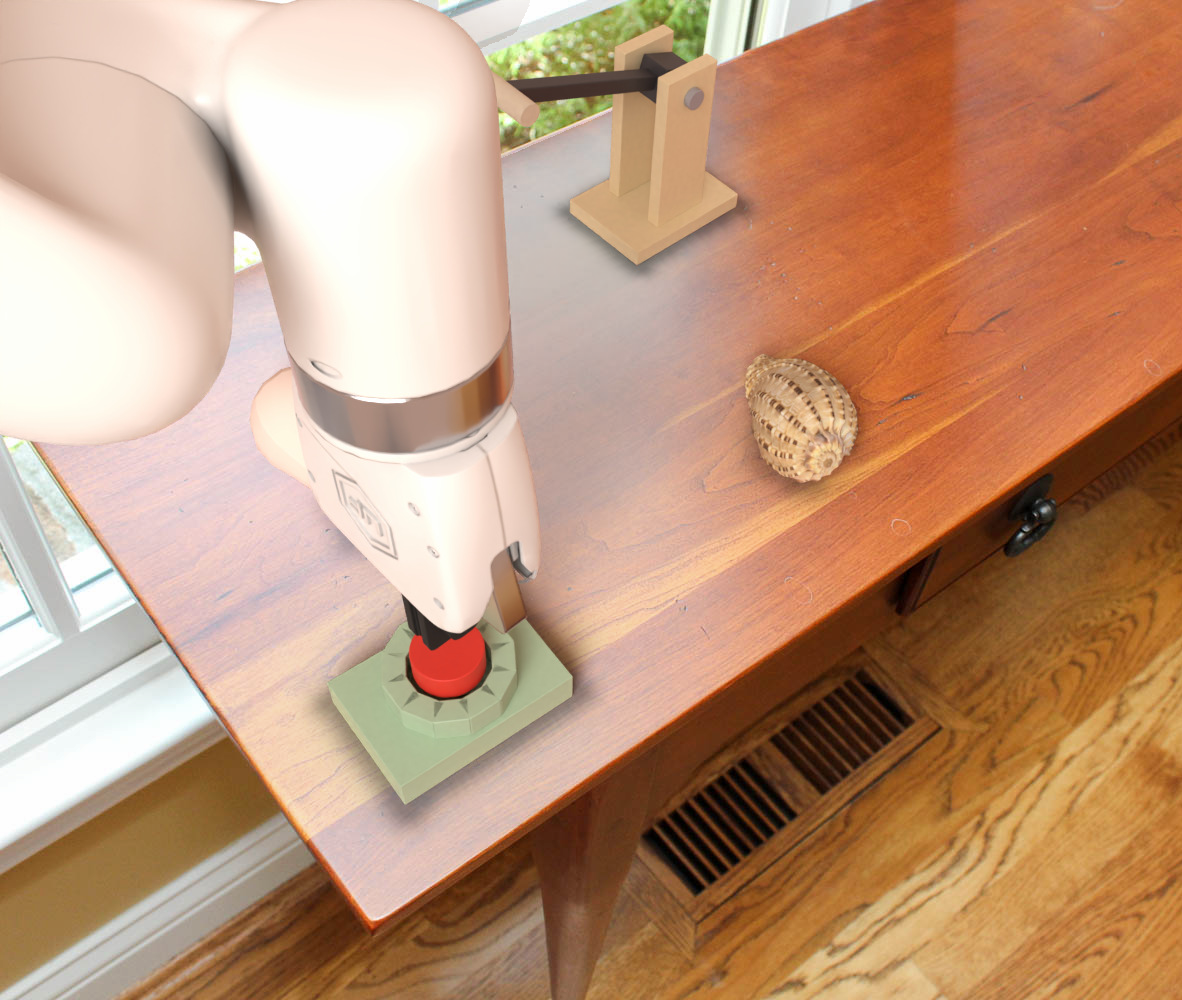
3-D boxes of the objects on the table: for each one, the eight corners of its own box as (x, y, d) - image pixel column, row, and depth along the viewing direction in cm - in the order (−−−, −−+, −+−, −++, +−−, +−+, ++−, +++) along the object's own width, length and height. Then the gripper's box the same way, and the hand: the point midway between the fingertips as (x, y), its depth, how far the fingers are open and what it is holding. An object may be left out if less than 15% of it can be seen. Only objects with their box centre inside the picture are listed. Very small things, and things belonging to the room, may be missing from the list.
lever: (516, 136, 69) (525, 96, 67) (459, 92, 71) (467, 53, 69) (699, 112, 81) (710, 77, 79) (647, 75, 82) (657, 41, 81)
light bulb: (422, 487, 66) (325, 323, 68) (308, 548, 64) (212, 378, 66) (437, 520, 72) (348, 370, 74) (334, 577, 70) (246, 421, 72)
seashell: (708, 452, 79) (805, 509, 72) (692, 370, 76) (792, 421, 69) (801, 405, 83) (902, 455, 76) (789, 325, 79) (894, 369, 72)
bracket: (636, 265, 85) (647, 109, 75) (569, 212, 87) (570, 54, 77) (736, 206, 90) (758, 52, 80) (670, 158, 92) (683, 2, 82)
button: (437, 711, 59) (434, 694, 58) (398, 658, 61) (394, 641, 59) (500, 672, 61) (499, 655, 60) (461, 622, 62) (458, 604, 61)
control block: (405, 805, 60) (396, 771, 57) (332, 702, 63) (320, 664, 60) (572, 696, 65) (573, 659, 62) (498, 604, 67) (495, 564, 64)
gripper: (187, 287, 44) (285, 568, 58) (453, 545, 39) (487, 782, 53) (364, 200, 47) (414, 485, 62) (628, 425, 42) (614, 677, 57)
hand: (447, 621), depth 58 cm, fingers closed
